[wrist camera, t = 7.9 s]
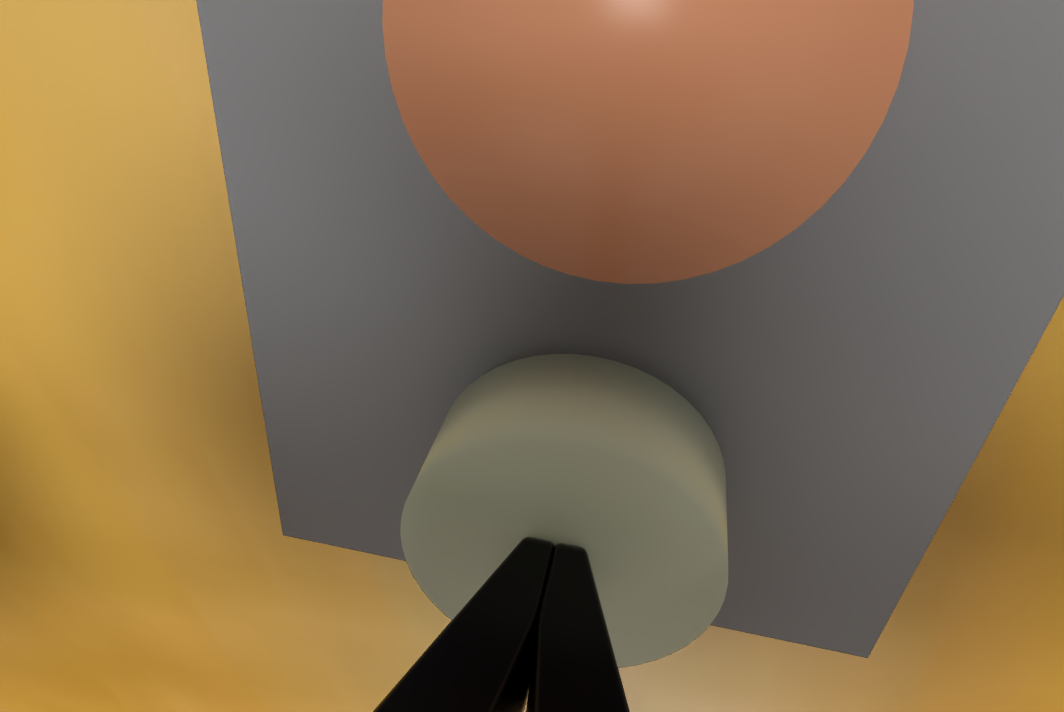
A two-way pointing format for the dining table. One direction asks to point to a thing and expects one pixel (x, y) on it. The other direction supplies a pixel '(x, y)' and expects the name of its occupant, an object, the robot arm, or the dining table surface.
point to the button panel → (658, 303)
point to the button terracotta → (643, 120)
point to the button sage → (578, 495)
